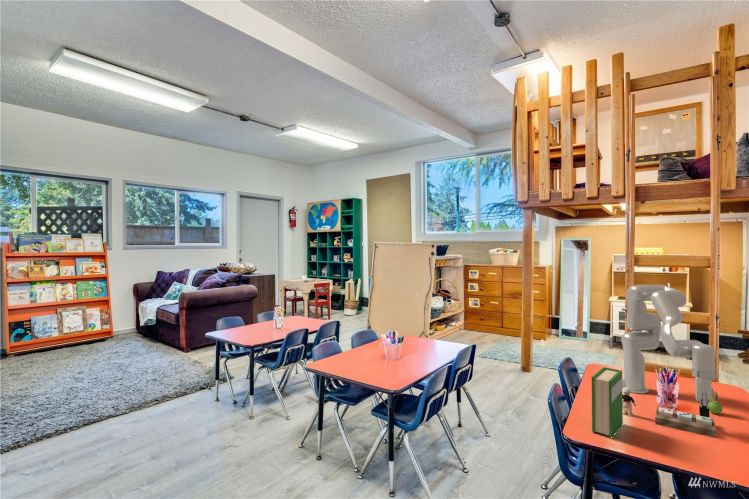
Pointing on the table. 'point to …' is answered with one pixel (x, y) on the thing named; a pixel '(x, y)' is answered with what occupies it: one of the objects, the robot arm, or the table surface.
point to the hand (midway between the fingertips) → (704, 416)
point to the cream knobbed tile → (703, 420)
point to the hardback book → (607, 401)
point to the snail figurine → (715, 404)
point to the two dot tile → (666, 412)
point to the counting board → (685, 424)
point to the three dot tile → (684, 416)
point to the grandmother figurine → (627, 402)
